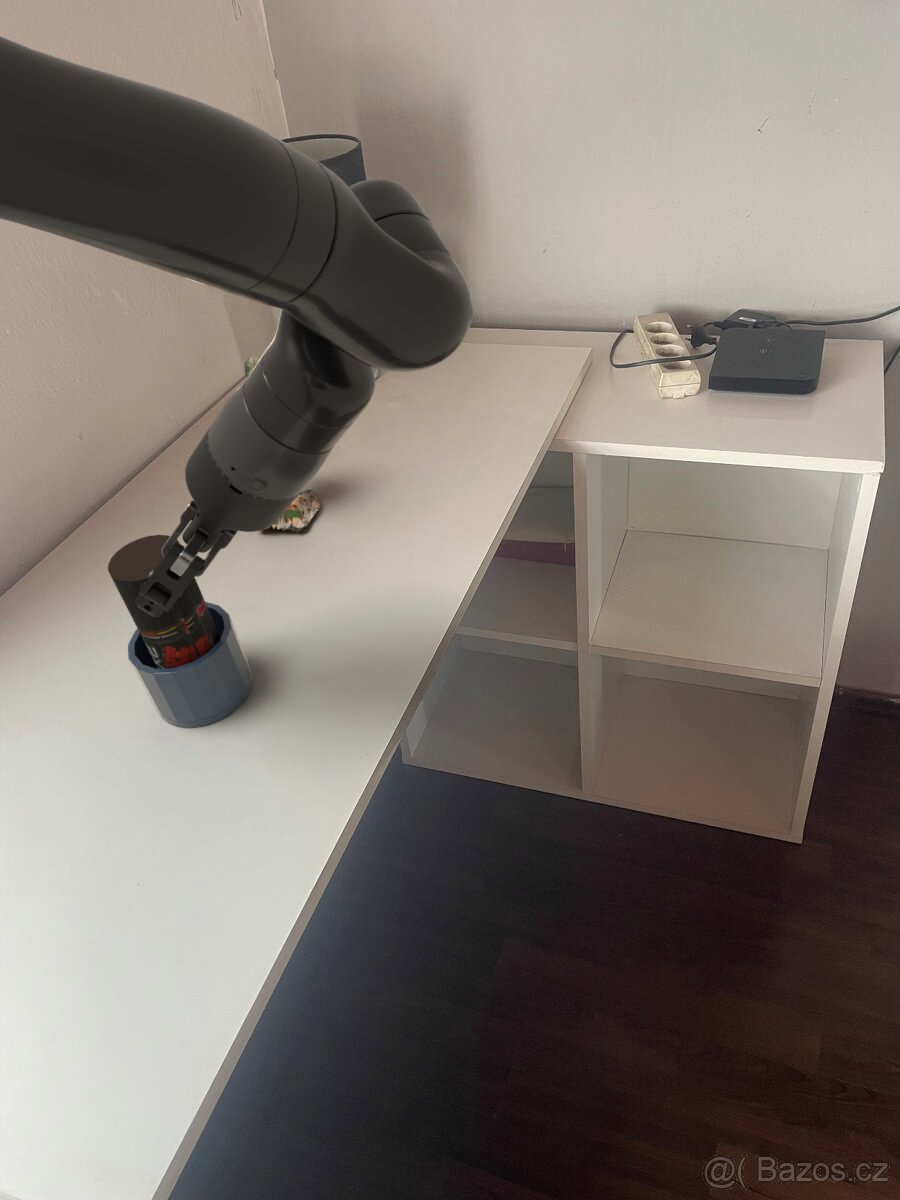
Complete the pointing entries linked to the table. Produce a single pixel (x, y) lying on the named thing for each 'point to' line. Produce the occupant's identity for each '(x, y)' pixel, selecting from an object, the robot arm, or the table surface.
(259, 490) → the robot arm
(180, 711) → the holder
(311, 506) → the plant with pod
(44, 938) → the table surface
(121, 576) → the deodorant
